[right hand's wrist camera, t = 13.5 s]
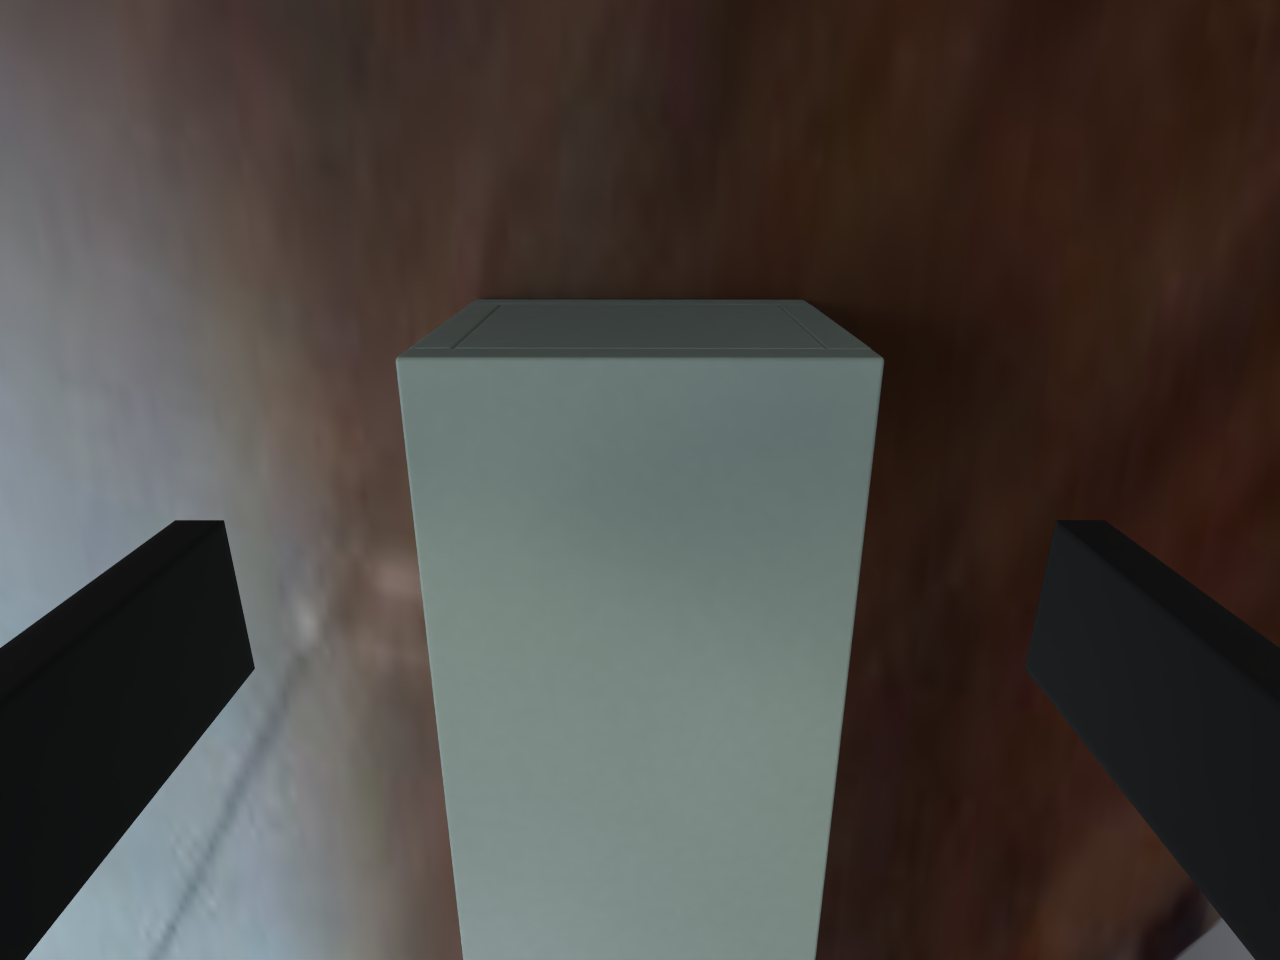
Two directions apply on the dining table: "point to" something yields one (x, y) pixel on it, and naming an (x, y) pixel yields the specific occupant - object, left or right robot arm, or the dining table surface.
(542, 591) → the cabinet
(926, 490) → the dining table surface
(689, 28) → the dining table surface
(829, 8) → the dining table surface
